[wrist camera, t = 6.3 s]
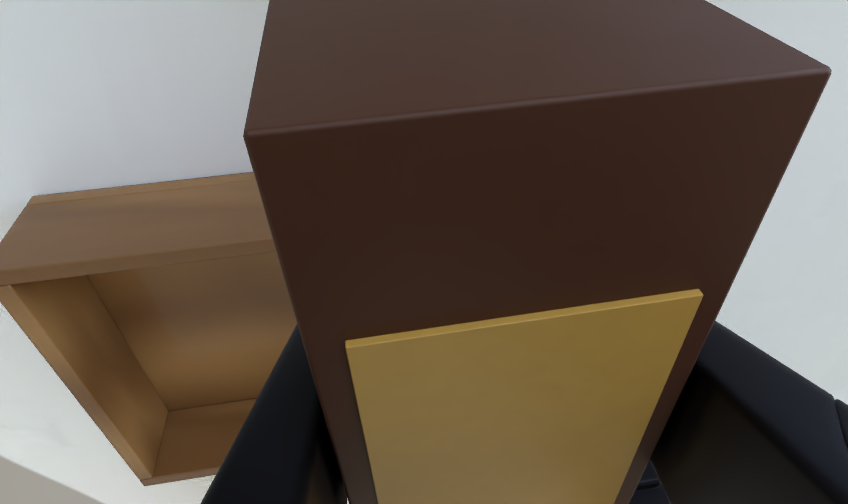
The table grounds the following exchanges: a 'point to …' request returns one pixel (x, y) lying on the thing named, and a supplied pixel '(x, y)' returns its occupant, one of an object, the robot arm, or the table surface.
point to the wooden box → (154, 312)
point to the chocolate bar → (513, 226)
